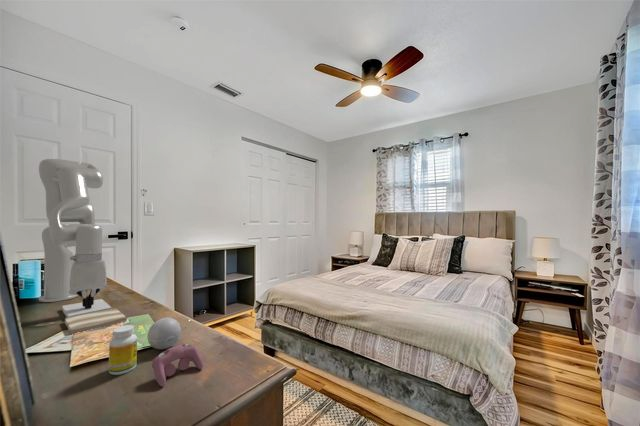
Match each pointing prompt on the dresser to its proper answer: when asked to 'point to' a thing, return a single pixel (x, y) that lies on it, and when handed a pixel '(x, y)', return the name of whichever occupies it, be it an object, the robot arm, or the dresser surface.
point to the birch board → (94, 320)
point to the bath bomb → (164, 333)
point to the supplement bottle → (122, 350)
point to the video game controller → (164, 360)
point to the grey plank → (78, 308)
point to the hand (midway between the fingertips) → (88, 307)
